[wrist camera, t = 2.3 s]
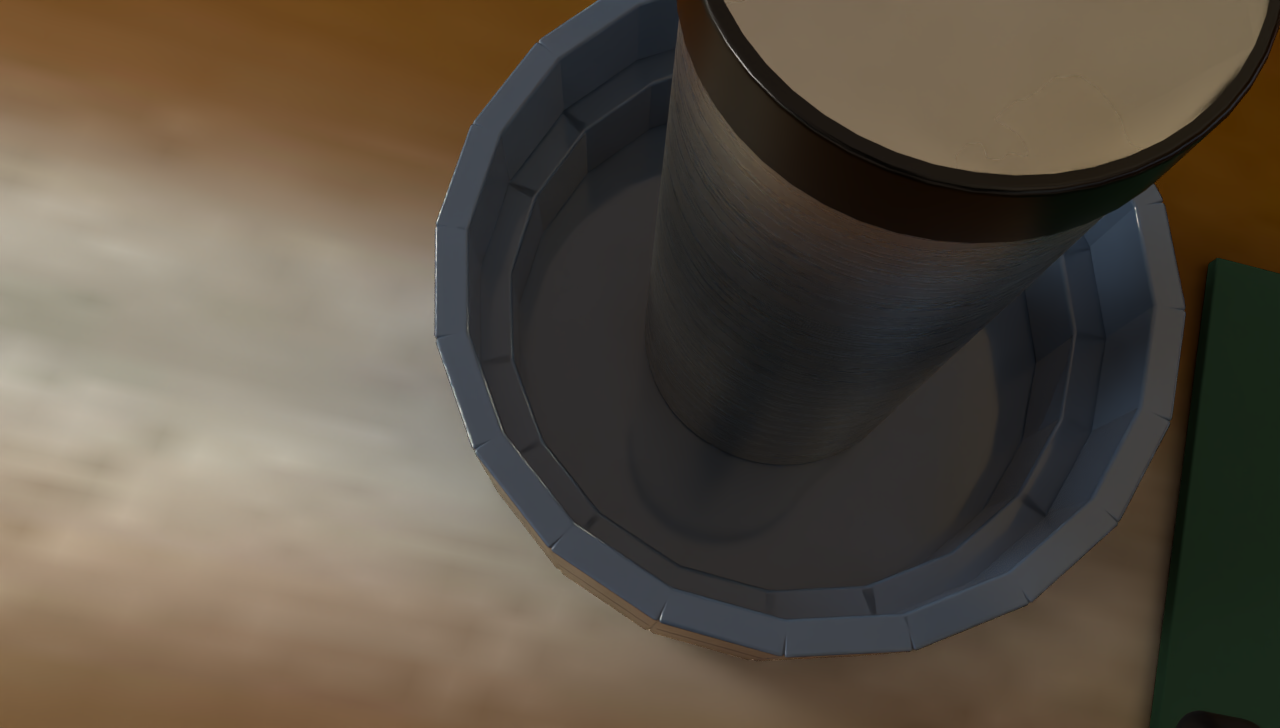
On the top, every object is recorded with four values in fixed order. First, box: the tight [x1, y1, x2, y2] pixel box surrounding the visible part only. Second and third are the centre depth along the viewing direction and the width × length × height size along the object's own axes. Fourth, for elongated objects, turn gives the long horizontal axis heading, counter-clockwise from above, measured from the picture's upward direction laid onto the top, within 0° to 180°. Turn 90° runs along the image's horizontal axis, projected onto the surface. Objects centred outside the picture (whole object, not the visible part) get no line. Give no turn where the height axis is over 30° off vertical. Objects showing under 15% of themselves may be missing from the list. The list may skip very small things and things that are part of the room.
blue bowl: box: [434, 0, 1186, 661], centre depth 21 cm, size 13×13×4 cm
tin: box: [645, 0, 1280, 465], centre depth 16 cm, size 6×6×13 cm
